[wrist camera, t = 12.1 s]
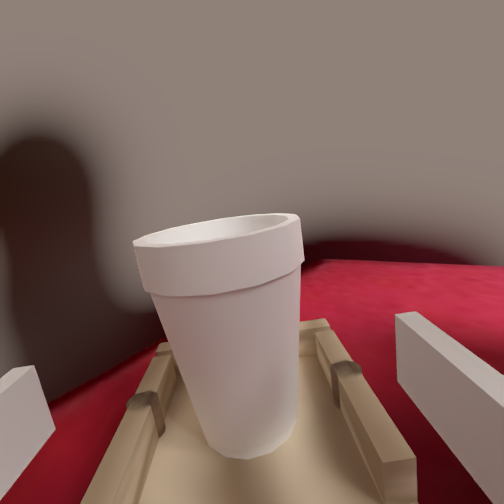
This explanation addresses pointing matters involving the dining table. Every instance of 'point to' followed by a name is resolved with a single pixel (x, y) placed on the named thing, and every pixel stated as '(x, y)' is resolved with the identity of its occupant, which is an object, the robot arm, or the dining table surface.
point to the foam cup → (232, 323)
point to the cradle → (269, 465)
